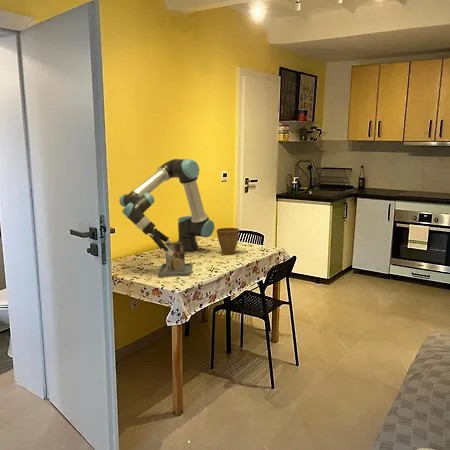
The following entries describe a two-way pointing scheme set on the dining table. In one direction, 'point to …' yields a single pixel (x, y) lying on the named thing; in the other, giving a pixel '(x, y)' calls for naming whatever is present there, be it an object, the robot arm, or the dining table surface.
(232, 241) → the plant pot
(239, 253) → the dining table surface
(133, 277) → the dining table surface
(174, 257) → the coffee box
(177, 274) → the tray
